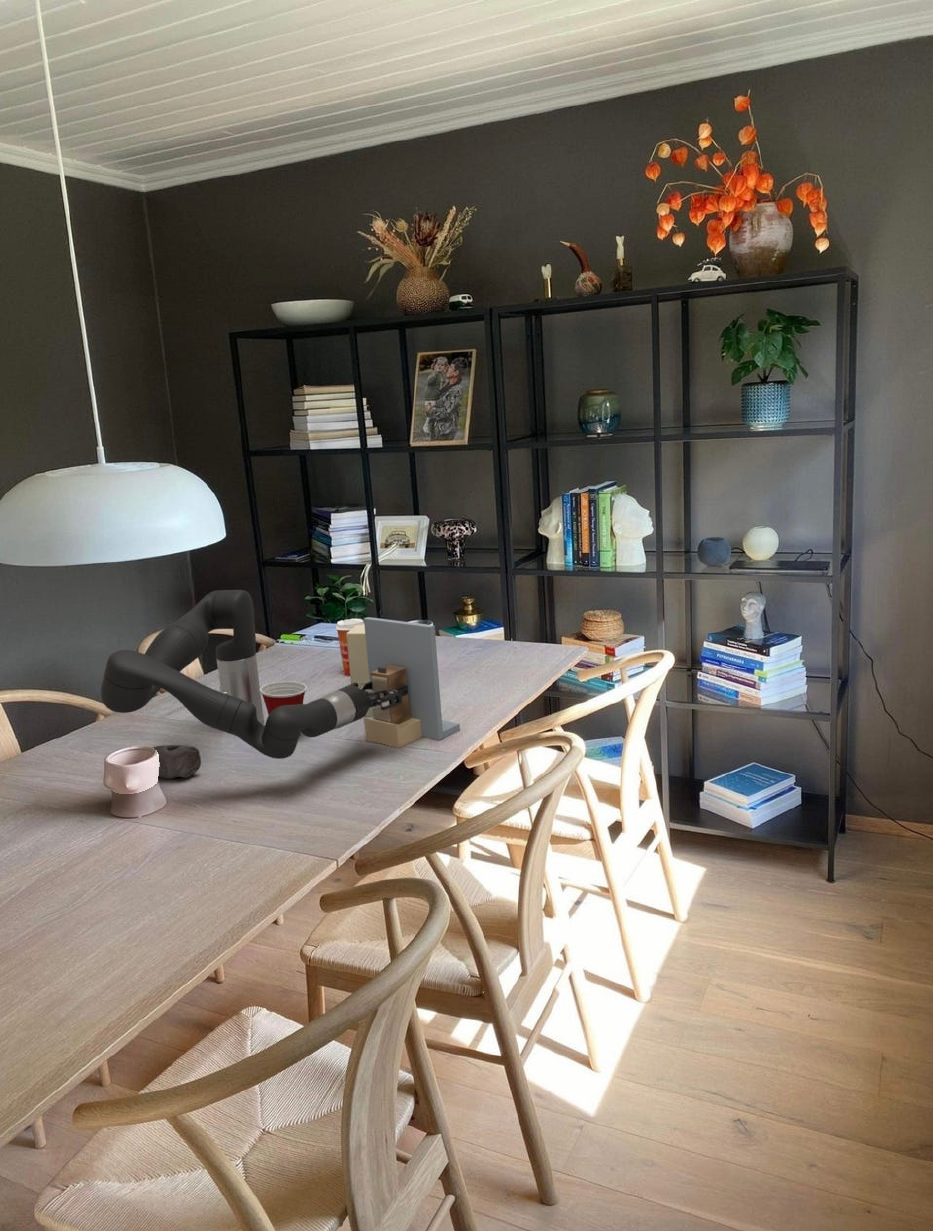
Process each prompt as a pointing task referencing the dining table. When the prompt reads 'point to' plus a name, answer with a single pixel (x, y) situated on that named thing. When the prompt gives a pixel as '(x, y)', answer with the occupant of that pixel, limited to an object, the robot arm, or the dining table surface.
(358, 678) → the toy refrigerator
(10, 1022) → the dining table surface
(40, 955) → the dining table surface
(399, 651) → the wall board
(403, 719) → the walnut cabinet
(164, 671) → the robot arm
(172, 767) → the perforated stone tool
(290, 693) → the plastic cup
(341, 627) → the coffee cup
